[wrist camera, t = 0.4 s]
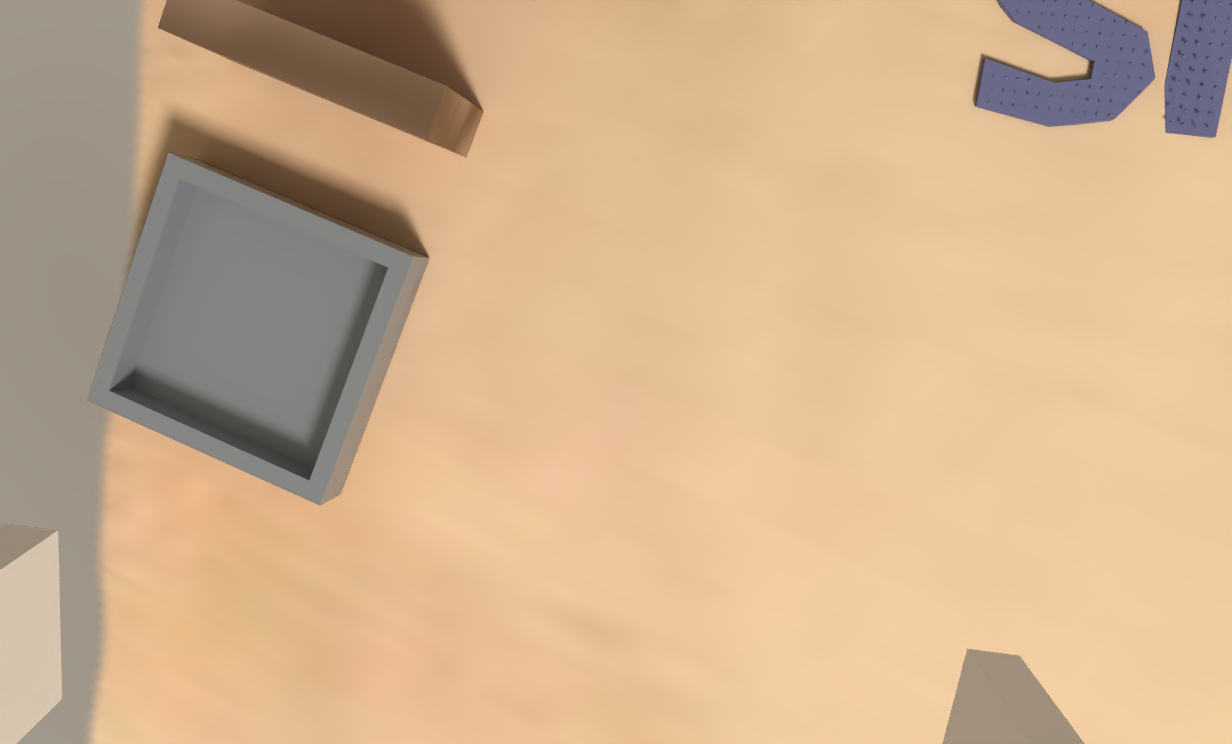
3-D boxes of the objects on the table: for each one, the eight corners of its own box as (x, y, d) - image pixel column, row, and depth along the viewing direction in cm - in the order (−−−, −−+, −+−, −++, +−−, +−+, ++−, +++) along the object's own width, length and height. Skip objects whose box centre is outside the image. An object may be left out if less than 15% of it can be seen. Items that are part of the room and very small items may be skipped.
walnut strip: (245, 14, 38) (175, -26, 33) (483, 111, 38) (446, 85, 33) (230, 60, 39) (158, 27, 34) (466, 157, 38) (426, 138, 33)
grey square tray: (196, 159, 39) (168, 152, 37) (429, 257, 38) (413, 256, 37) (117, 394, 41) (86, 400, 39) (340, 494, 40) (320, 505, 38)
